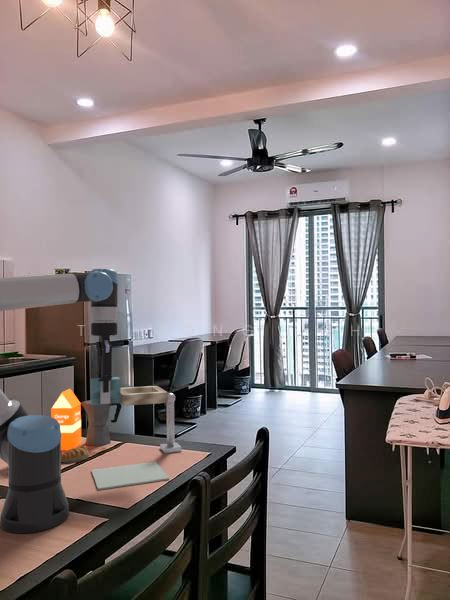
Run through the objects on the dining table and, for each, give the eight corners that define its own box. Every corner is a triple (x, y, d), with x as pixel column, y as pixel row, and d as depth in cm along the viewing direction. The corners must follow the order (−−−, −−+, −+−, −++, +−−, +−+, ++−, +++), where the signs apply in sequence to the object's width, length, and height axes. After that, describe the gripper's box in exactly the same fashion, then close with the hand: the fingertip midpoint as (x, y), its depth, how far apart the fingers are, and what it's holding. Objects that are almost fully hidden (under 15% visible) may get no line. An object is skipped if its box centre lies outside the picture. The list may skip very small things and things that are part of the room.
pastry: (64, 465, 154) (64, 453, 154) (54, 461, 159) (54, 449, 159) (90, 458, 161) (90, 447, 161) (80, 454, 165) (80, 443, 166)
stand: (164, 453, 165) (163, 395, 165) (160, 448, 171) (159, 392, 171) (181, 451, 167) (180, 393, 167) (176, 446, 173) (176, 390, 173)
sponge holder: (94, 408, 135) (94, 382, 135) (88, 399, 147) (88, 376, 147) (167, 402, 142) (167, 378, 143) (156, 395, 154) (157, 373, 155)
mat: (98, 490, 133) (97, 488, 133) (91, 471, 148) (91, 469, 148) (169, 479, 140) (169, 478, 140) (155, 463, 155) (155, 461, 155)
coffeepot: (75, 446, 175) (75, 395, 175) (85, 438, 184) (84, 391, 184) (118, 446, 173) (117, 396, 174) (125, 439, 183) (124, 391, 183)
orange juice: (51, 450, 170) (50, 392, 170) (61, 442, 179) (59, 388, 179) (73, 449, 170) (72, 392, 170) (82, 442, 179) (80, 388, 179)
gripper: (122, 322, 136) (122, 406, 135) (112, 321, 152) (112, 396, 151) (94, 322, 133) (94, 408, 133) (87, 321, 149) (87, 397, 148)
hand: (104, 401), depth 142 cm, fingers closed on sponge holder, 4 cm apart
